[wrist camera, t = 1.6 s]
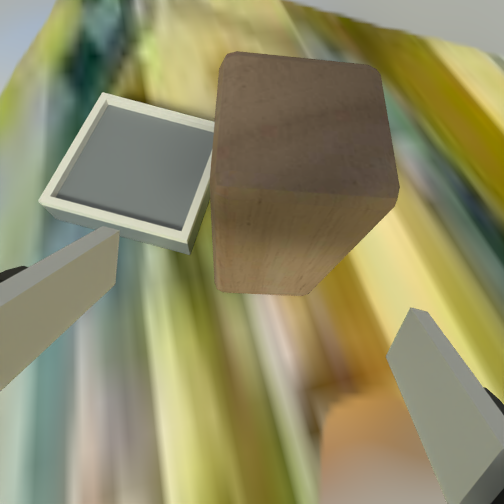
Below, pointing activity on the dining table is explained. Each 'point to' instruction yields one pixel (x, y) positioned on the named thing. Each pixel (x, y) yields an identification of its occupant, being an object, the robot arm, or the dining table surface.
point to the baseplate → (136, 174)
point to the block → (295, 169)
